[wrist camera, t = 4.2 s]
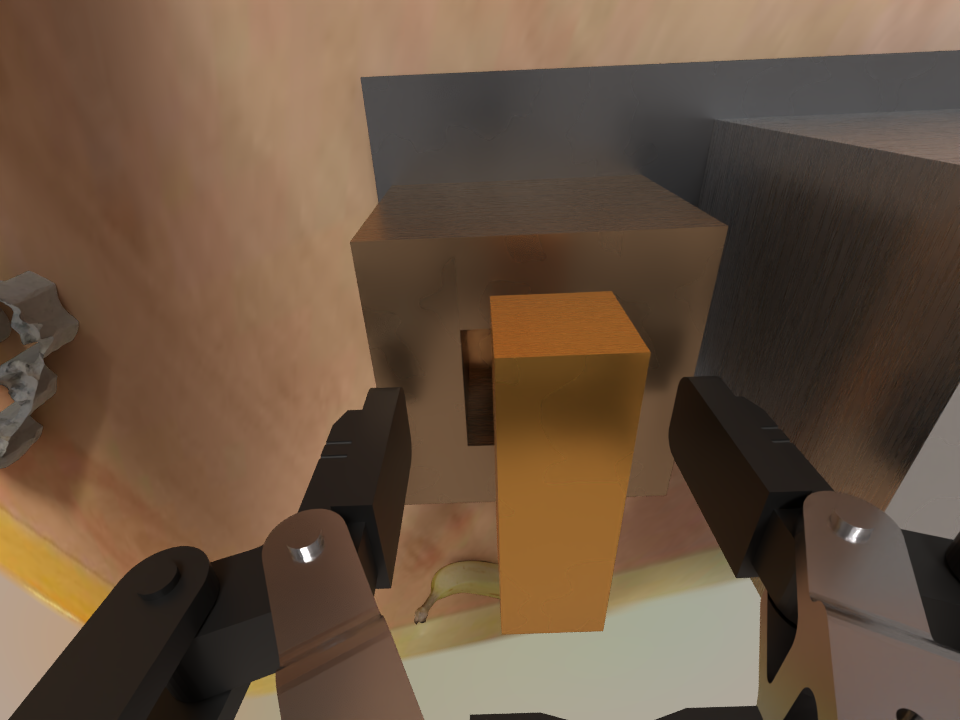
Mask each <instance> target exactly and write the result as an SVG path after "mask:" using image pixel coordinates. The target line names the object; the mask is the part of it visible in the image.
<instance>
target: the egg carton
mask: <svg viewBox="0 0 960 720" xmlns="http://www.w3.org/2000/svg"><path fill="white" fill-rule="evenodd" d="M0 302H3V303H4V304H6V305H8V306H9V307H11V308H12V310H13V312H14V313H13V317H12V321H11V324H10V321H9V319H8V317H7V315H6V314H5V313H4V311H3V310H2V309H1V308H0V342H2V341H3V340H5V339H6V338H8V337H9V335H10V332H11V327H12V328H13V329H14V330H15V331H16V332H18V333H19V334H20V337H21V341H22V344H23V345H25V344H29V343H32V342H38V343H37V344H35V345H33V346H32V347H30V348H28V349H27V350H25V351H23V352H22V353H20V354H19V355H17V356H16V357H14V358H12V359H11V360H9V361H7V362H6V363H4V364H2V365H1V366H0V385H3V386H5V387H6V388H8V390H9V392H8V393H9V394H10V395H11V397H12V399H13V400H14V401H15V402H14V403H12V404H11V405H10V406H8V407H7V408H6V409H4V410H3V411H2V412H0V469H1V468H6V467H8V466H9V465H11V464H12V463H14V462H15V461H17V460H18V459H19V458H20V457H21V456H22V455H24V454H25V453H26V452H27V450H28V449H29V448H30V447H31V445H32V444H33V443H35V442H36V441H37V440H38V438H39V437H40V436H41V434H42V430H43V426H42V425H41V424H39V423H38V422H36V421H35V420H34V419H33V418H32V417H31V416H30V415H31V414H32V412H33V411H34V410H35V409H37V408H38V407H39V406H40V405H42V404H44V402H45V401H46V400H48V399H49V398H51V397H52V396H53V395H54V394H55V393H56V389H57V375H56V374H55V373H53V372H52V371H51V370H50V369H49V368H48V367H47V366H46V365H45V364H44V361H43V358H45V357H47V356H48V355H49V354H50V353H51V352H53V351H56V350H58V349H59V348H60V347H61V346H62V345H64V344H66V343H68V342H71V341H72V340H73V339H74V337H75V336H76V334H77V331H78V326H79V322H78V320H76V319H75V318H74V317H73V316H72V315H70V314H69V313H68V312H67V311H66V310H65V309H64V308H63V306H62V305H61V303H60V301H59V298H58V295H57V289H56V285H55V283H53V282H51V281H50V280H48V279H46V278H44V277H42V276H40V275H38V274H36V273H34V272H32V271H26V272H24V273H23V274H20V275H18V276H16V277H14V278H11V279H9V280H6V281H1V280H0Z"/></svg>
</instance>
